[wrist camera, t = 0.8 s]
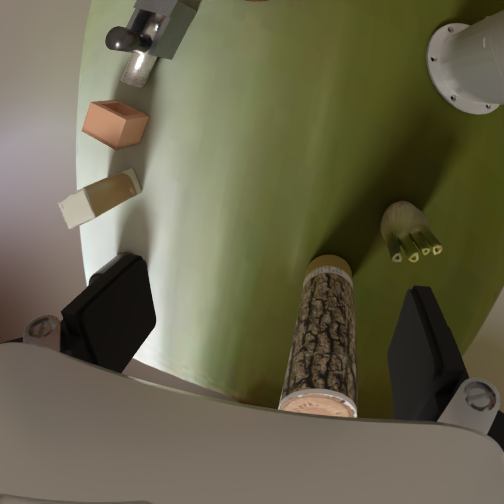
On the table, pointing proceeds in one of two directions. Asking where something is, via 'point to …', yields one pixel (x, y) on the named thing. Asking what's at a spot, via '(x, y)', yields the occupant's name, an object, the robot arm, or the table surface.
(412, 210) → the fennel bulb
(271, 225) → the table surface
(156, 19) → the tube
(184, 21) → the sleeve
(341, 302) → the paper tube
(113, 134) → the socket
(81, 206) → the skincare box
